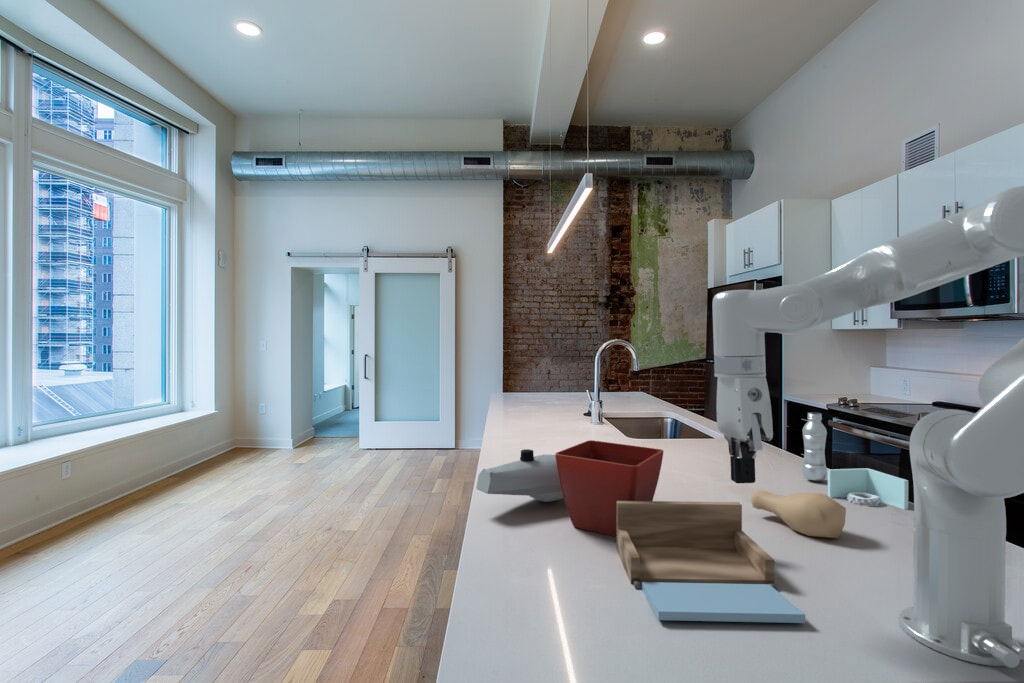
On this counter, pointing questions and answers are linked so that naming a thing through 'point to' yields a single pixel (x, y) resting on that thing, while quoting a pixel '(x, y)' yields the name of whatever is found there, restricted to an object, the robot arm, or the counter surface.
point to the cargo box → (688, 544)
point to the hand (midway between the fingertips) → (743, 481)
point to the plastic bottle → (814, 448)
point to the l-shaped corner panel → (868, 487)
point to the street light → (524, 478)
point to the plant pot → (605, 481)
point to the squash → (804, 512)
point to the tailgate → (720, 602)
